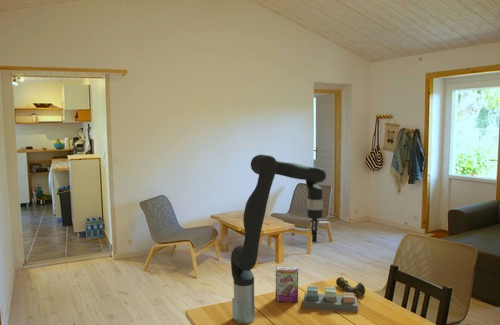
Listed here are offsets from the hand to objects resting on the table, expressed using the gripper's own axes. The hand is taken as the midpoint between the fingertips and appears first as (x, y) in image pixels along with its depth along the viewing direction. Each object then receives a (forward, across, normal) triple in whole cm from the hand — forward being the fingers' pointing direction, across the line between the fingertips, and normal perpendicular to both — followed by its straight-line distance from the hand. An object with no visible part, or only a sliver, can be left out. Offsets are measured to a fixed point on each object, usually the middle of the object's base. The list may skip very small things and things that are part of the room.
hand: (314, 241), depth 200 cm
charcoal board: (+28, -8, -8) cm, 31 cm away
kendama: (+29, +9, -18) cm, 35 cm away
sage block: (+26, -8, -8) cm, 28 cm away
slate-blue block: (+26, -8, 0) cm, 27 cm away
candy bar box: (+29, -6, +13) cm, 32 cm away
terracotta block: (+28, -7, -17) cm, 33 cm away
